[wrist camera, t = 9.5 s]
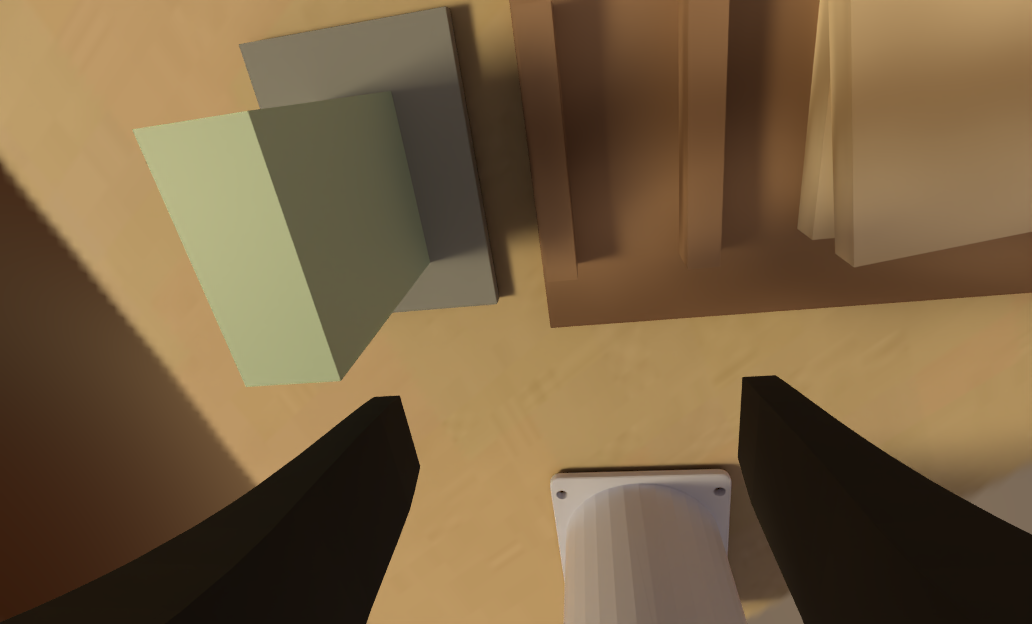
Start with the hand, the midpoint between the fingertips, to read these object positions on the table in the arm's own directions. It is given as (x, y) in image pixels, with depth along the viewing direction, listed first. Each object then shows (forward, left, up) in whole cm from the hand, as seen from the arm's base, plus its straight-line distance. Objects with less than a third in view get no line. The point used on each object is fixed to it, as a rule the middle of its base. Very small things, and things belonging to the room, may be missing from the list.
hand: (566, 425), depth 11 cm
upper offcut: (+4, -10, -7) cm, 13 cm away
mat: (+4, +7, -9) cm, 12 cm away
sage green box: (+4, +7, -9) cm, 12 cm away
